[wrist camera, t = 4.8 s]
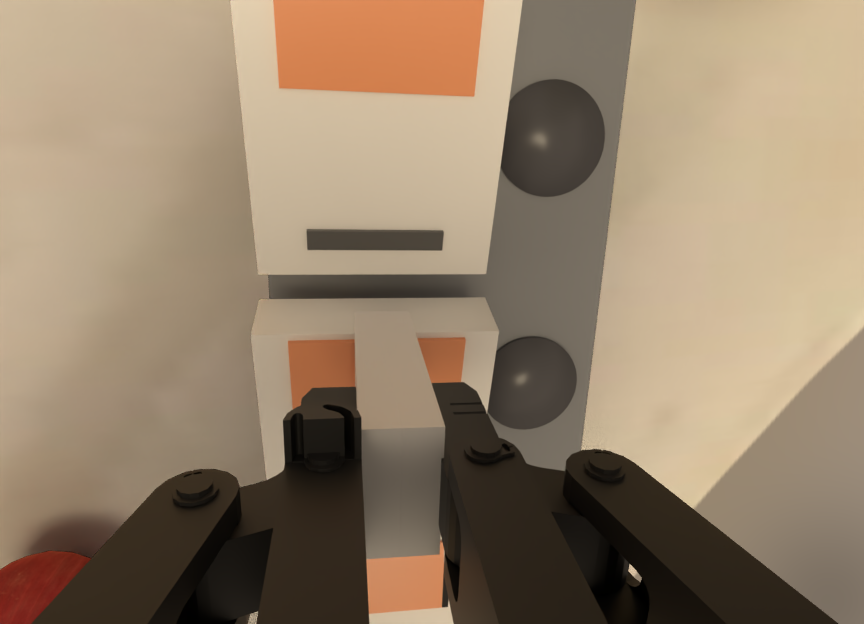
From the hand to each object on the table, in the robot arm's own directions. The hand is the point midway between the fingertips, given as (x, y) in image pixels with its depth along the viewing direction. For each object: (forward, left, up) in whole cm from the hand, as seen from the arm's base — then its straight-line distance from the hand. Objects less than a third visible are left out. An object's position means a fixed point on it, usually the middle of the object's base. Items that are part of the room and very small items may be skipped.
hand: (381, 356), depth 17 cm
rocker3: (0, +6, -2) cm, 6 cm away
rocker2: (0, -3, -2) cm, 4 cm away
